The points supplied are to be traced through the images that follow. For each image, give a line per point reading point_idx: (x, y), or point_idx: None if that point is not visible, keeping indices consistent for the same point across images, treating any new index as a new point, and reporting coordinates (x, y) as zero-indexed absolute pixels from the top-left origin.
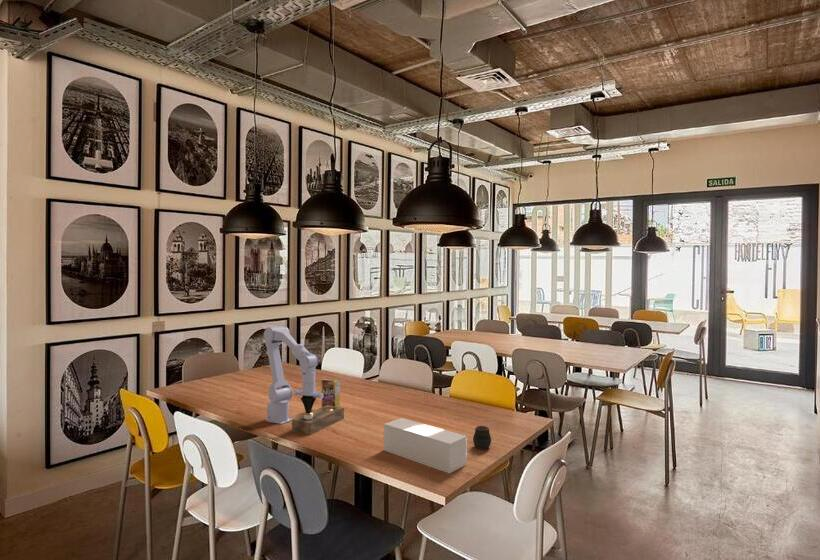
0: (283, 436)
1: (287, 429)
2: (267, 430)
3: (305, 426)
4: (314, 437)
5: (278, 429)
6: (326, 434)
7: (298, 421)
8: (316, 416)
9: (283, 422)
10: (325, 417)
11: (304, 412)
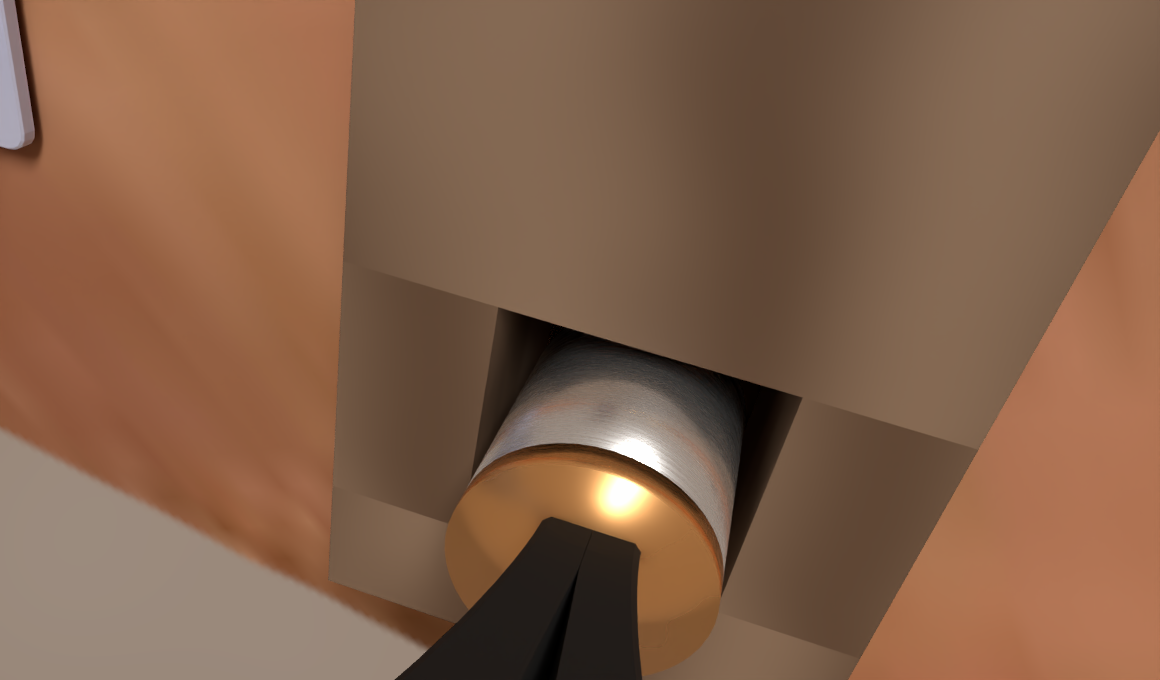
0: (437, 625)
1: (306, 365)
2: (87, 440)
3: None
4: (923, 651)
5: (184, 384)
6: (1134, 523)
7: None
8: (771, 287)
9: (17, 98)
10: (1087, 222)
11: (457, 568)
